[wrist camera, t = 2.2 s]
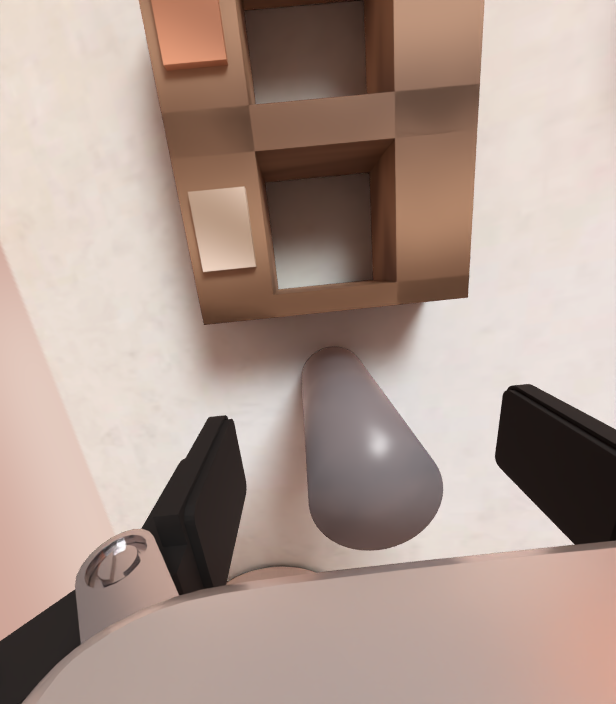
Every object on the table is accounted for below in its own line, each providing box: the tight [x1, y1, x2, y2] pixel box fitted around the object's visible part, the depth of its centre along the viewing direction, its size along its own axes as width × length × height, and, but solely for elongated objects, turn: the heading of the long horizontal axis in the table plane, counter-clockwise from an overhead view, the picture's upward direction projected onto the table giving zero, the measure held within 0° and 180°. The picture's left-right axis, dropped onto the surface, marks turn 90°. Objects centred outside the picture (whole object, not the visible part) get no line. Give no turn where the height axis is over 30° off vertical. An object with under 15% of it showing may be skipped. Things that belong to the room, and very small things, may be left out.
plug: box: [302, 347, 443, 550], centre depth 13 cm, size 4×4×10 cm
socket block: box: [139, 0, 484, 325], centre depth 13 cm, size 14×12×4 cm
